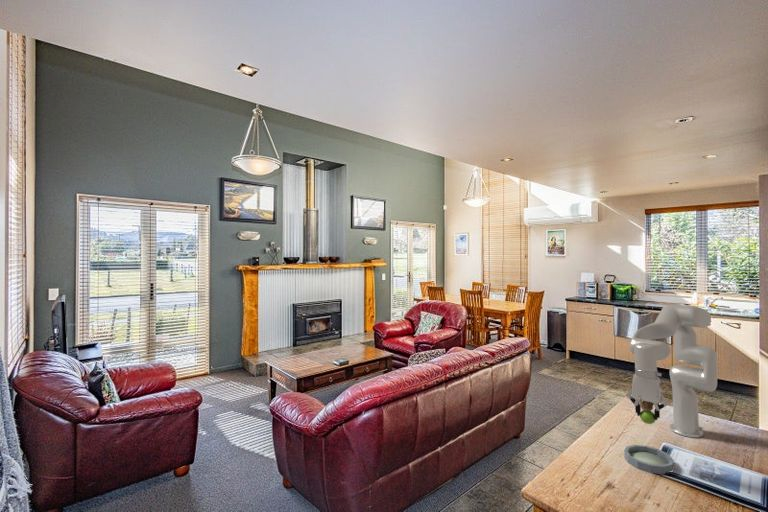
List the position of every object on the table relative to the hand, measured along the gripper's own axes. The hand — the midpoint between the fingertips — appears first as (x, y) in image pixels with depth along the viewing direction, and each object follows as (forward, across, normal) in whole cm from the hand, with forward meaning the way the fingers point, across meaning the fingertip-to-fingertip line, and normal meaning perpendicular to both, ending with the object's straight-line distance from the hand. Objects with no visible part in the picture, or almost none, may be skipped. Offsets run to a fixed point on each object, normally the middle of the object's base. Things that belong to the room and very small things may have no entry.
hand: (647, 416), depth 156 cm
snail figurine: (+3, 0, 0) cm, 3 cm away
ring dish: (+19, 0, 0) cm, 19 cm away
